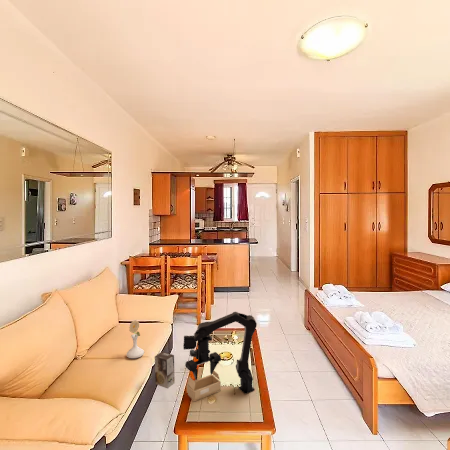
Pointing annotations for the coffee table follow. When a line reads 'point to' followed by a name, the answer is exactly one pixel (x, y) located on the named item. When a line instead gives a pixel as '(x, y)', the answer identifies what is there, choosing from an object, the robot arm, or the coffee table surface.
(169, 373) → the coffee box
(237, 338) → the coffee table surface
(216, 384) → the carton
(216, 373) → the inner flap
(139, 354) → the flower in vase
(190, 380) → the outer flap
